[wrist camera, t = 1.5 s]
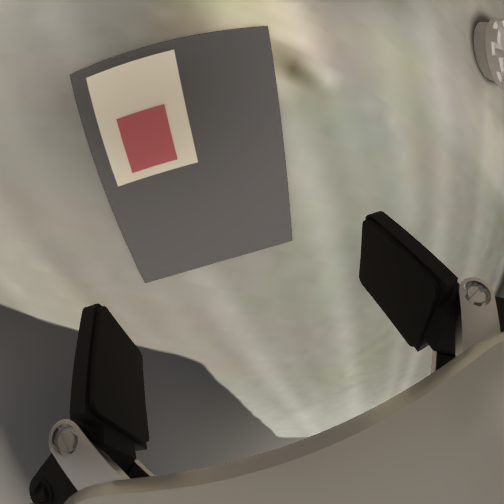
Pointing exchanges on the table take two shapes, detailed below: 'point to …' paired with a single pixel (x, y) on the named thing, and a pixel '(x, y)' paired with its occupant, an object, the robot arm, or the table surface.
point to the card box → (143, 117)
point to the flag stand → (490, 49)
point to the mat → (205, 158)
